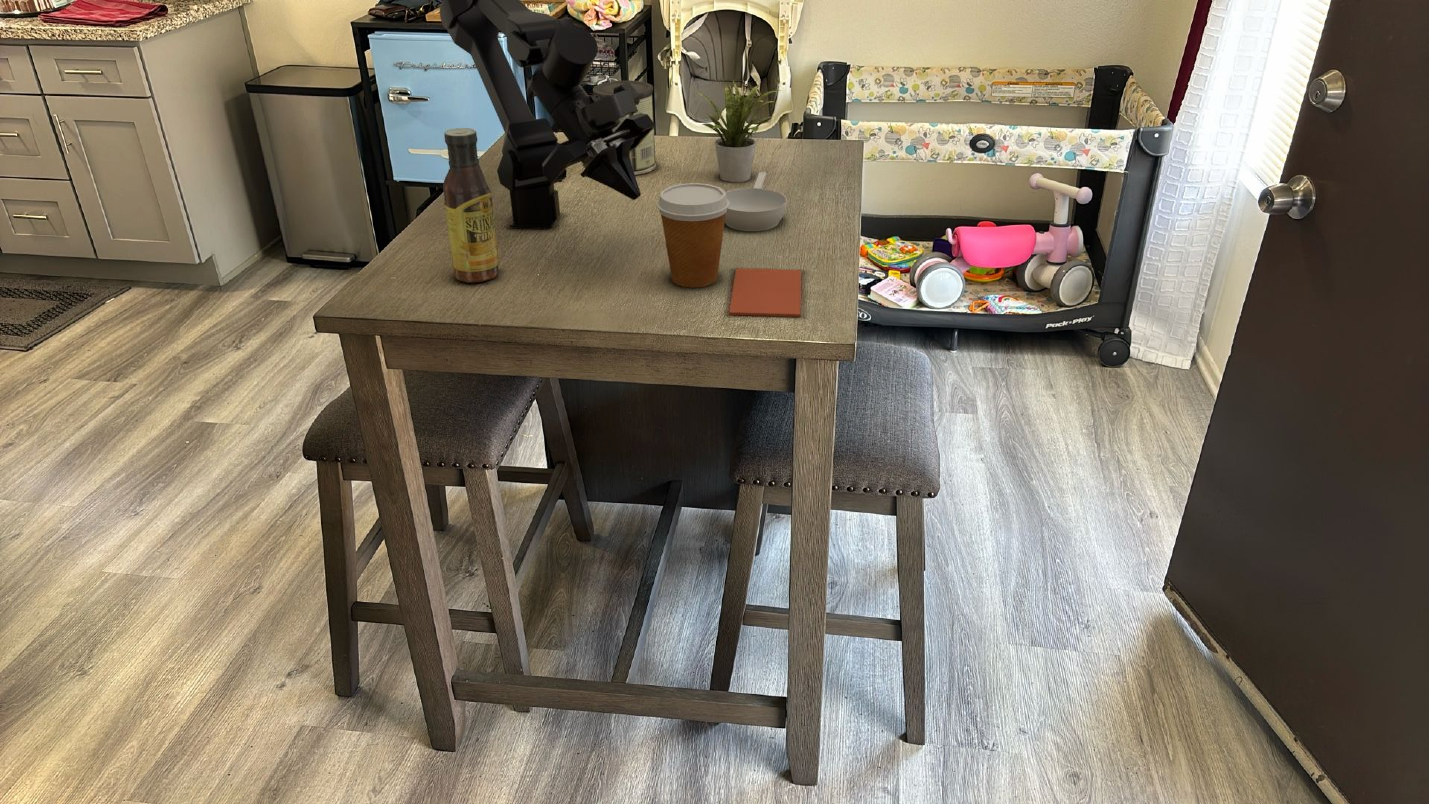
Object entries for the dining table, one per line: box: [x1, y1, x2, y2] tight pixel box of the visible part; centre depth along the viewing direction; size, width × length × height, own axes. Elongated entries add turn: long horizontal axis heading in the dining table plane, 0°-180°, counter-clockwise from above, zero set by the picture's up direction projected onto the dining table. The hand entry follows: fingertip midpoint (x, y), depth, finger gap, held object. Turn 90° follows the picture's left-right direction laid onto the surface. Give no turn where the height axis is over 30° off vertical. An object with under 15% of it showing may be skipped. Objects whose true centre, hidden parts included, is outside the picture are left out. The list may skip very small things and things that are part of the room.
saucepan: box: [724, 171, 788, 232], centre depth 156 cm, size 11×18×4 cm, turn 170°
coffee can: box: [592, 80, 657, 176], centre depth 173 cm, size 10×10×14 cm
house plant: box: [695, 80, 782, 183], centre depth 167 cm, size 14×14×16 cm
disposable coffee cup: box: [656, 182, 729, 289], centre depth 132 cm, size 10×10×12 cm
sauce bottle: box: [442, 127, 499, 284], centre depth 131 cm, size 6×6×20 cm
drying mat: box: [728, 268, 802, 318], centre depth 131 cm, size 9×14×1 cm, turn 175°
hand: (637, 197), depth 134 cm, fingers closed
